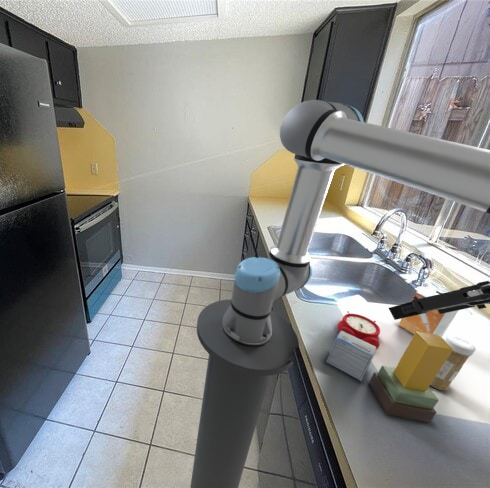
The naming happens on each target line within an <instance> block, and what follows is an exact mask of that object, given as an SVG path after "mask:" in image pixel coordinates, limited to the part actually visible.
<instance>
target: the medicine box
mask: <svg viewBox="0 0 490 488" xmlns="http://www.w3.org/2000/svg"><path fill="white" fill-rule="evenodd" d="M376 350H377V349H376V347H375V346H373V345H371V344H369V343H367V342H365V341H363V340H361V339H358V338H356V337H354V336H352V335H350V334H347V333H345V332H343V331H340V332H339V333H338V332H337V334H336V337H335V339H334V340H333V344H332V347H331V349H330V351H329V354H328V357H327V359H326V361H325V362H326V363H327V364H329V365H331V366H332V367H335V368H336V369H338V370H340V371H342V372H344V373H345V374H347V375H349V376H351V377H353V378H355V379H356V380H358V381H360V382H362V380H363V378H364V376H365V374H366V372H367V370H368V368H369V366H370V364H371V363H372V360H373V358H374V356H375V354H376Z"/></svg>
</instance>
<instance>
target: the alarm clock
mask: <svg viewBox="0 0 490 488" xmlns="http://www.w3.org/2000/svg"><path fill="white" fill-rule="evenodd" d="M376 322H377V321H376V320H372V319H371V318H368V317H366V316H363V315H361V314H357V313H350V312H349V311H346V314H345V315H343V316H342V319H341V320H340V321H338V323H337V330H338V332H337V334H338V333H339V332H340V331H343V332H345V333H347V334H350V335H352V336H354V337H356V338H358V339H361V340H363V341H365V342H367V343H369V344H371V345H373V346H375V347H376V350H378V349H379V347H380V339H379V336H380V334H381V328H380V326H379V325H378V324H377V323H376Z"/></svg>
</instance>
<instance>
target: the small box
mask: <svg viewBox="0 0 490 488" xmlns="http://www.w3.org/2000/svg"><path fill="white" fill-rule="evenodd" d="M438 294H439V293H438V292H436V291H434V290H431V289H430V288H428V289H423V290H419V291H415V293H414V295H413V296H412V298H411V299H410V302H411V301H412V300H414V299H413V297H417V298H418V299H421V298H425V297H429V296H433V295H438ZM458 312H459V310H457V311H452V312H448V313H443V314H440V313H439V312H438V310H433V311H428V312H427V313H424V314H419V315H415V316H410V317H406V318H402V319H400V321H399V323H398V326H399V327H400V328H403V329H404V330H406V331H407V332H408V333H411V334H412V335H414V334H415V332H416V331H417V332H423V333H430V334H436V335H439V336H440V337H441V338H442V337H443V336H444V334H445V333H446V331H447V330H448V328H449V326H450V324H451V323H452V322H453V320H454V319H455V317H456V315H457V313H458Z"/></svg>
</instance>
